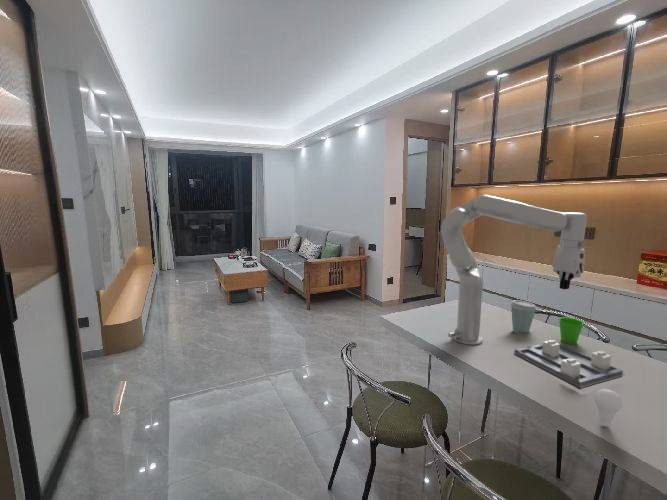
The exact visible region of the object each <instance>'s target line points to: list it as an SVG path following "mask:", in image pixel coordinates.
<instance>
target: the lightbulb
mask: <svg viewBox="0 0 667 500" xmlns="http://www.w3.org/2000/svg"><path fill="white" fill-rule="evenodd" d="M593 398H594V403H595V405H596V406H597V409H598V416H599V418H598V419H599V420H598V423H599V425H601V426H602V427H603V428H610V427H611V425H612V421H613V419H614V417H615V415H616V414H617V413H618V412H620V410H622V408H623V400H622V397H621V396H620V395H619V394H618V393H617V392H615V391H614V390H612V389H610V388H609V389H608V388H601V389H599V390H597V391H596V392H595V393H594V397H593Z"/></svg>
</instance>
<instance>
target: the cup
mask: <svg viewBox="0 0 667 500" xmlns="http://www.w3.org/2000/svg"><path fill="white" fill-rule="evenodd" d="M558 321H559V329H560V331H559V332H560V342H562V343H564V344H566V345H577V344H578V340H579V337H580V334H581V332H582V328H583V326H584V325H585V322H584V321H583V320H581V319H577V318H574V317H567V316H561V317H559V318H558Z"/></svg>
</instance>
